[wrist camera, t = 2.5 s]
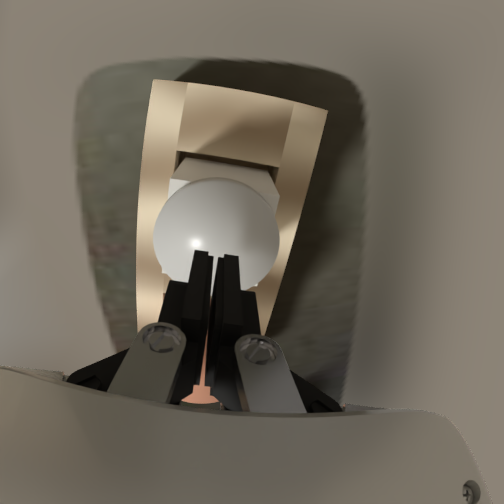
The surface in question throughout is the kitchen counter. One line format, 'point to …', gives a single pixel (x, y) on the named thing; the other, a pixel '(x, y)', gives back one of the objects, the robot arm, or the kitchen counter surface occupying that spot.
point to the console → (225, 151)
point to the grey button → (218, 219)
